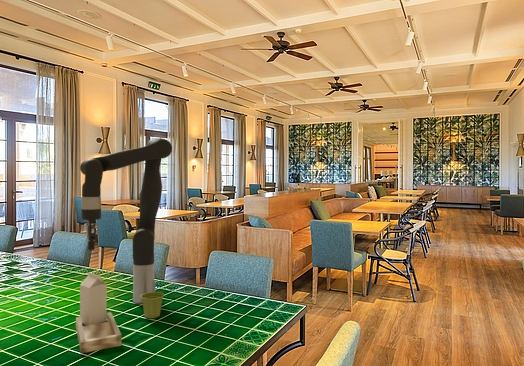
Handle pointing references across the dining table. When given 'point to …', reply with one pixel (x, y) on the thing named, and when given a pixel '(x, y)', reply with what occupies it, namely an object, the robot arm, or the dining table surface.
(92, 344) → the u rest
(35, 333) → the dining table surface
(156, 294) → the plant pot
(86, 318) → the milk carton
